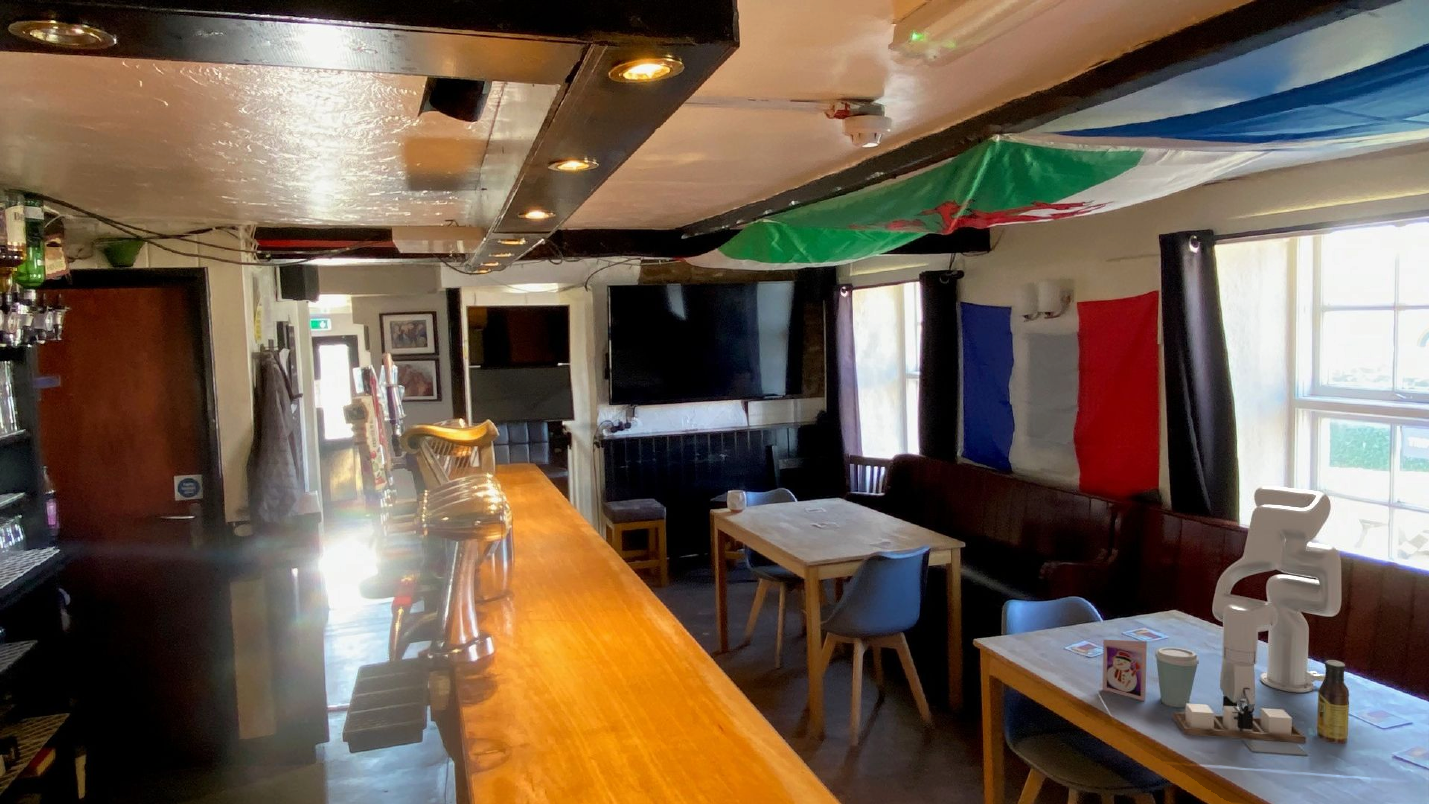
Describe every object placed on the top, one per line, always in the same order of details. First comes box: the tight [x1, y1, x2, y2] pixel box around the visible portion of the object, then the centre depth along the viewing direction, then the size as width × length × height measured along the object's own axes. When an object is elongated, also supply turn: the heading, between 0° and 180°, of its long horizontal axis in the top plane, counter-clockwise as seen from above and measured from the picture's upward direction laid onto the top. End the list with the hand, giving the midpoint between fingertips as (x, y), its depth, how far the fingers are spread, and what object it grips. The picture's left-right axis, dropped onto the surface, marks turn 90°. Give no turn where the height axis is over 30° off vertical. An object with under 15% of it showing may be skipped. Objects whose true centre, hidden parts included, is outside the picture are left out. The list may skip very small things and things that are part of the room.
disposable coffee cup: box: [1154, 646, 1200, 708], centre depth 235 cm, size 11×11×15 cm
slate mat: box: [1241, 738, 1309, 757], centre depth 209 cm, size 12×6×1 cm, turn 78°
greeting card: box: [1102, 639, 1148, 702], centre depth 242 cm, size 11×7×15 cm, turn 45°
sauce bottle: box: [1316, 659, 1350, 744], centre depth 213 cm, size 6×6×20 cm
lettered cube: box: [1222, 705, 1252, 732], centre depth 219 cm, size 5×5×5 cm
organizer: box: [1172, 711, 1307, 744], centre depth 219 cm, size 27×10×2 cm, turn 78°
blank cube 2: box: [1260, 707, 1293, 734], centre depth 217 cm, size 5×5×5 cm
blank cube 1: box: [1185, 703, 1215, 729], centre depth 220 cm, size 5×5×5 cm
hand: (1237, 719), depth 219 cm, fingers open, 9 cm apart
